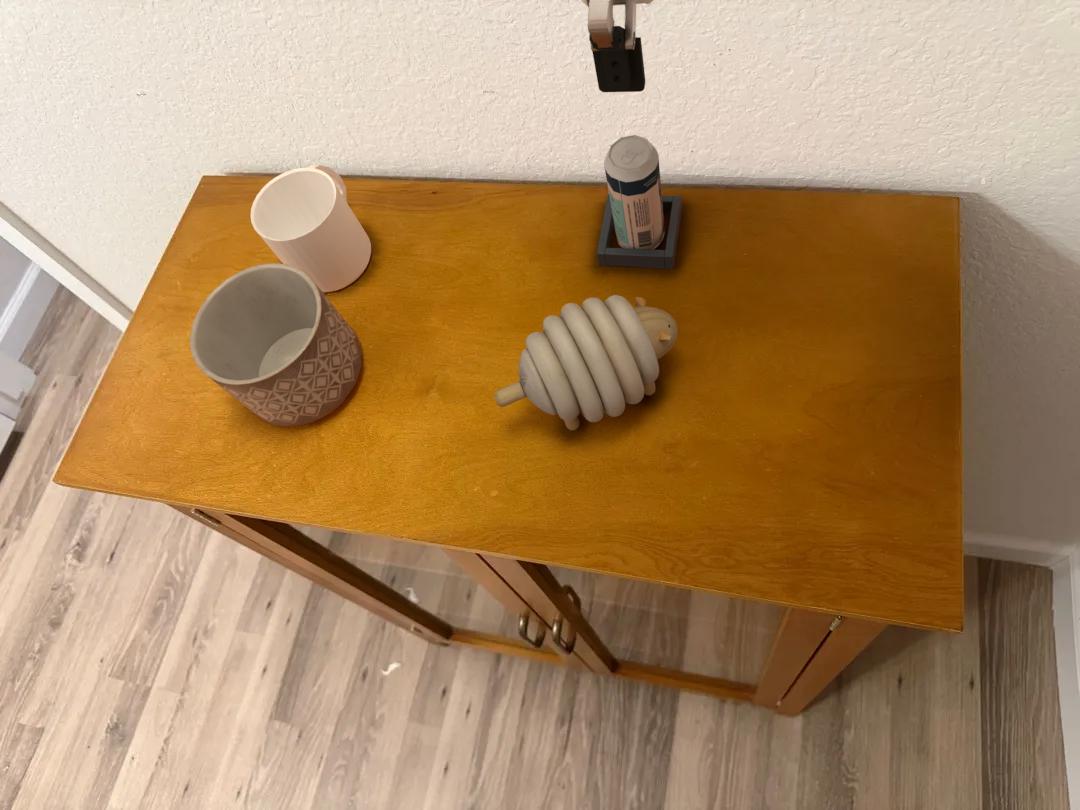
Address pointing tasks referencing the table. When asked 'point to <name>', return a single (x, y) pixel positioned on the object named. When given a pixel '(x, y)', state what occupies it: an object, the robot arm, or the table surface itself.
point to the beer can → (635, 192)
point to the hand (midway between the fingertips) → (632, 39)
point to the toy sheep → (593, 359)
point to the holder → (641, 256)
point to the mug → (312, 226)
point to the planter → (276, 344)
